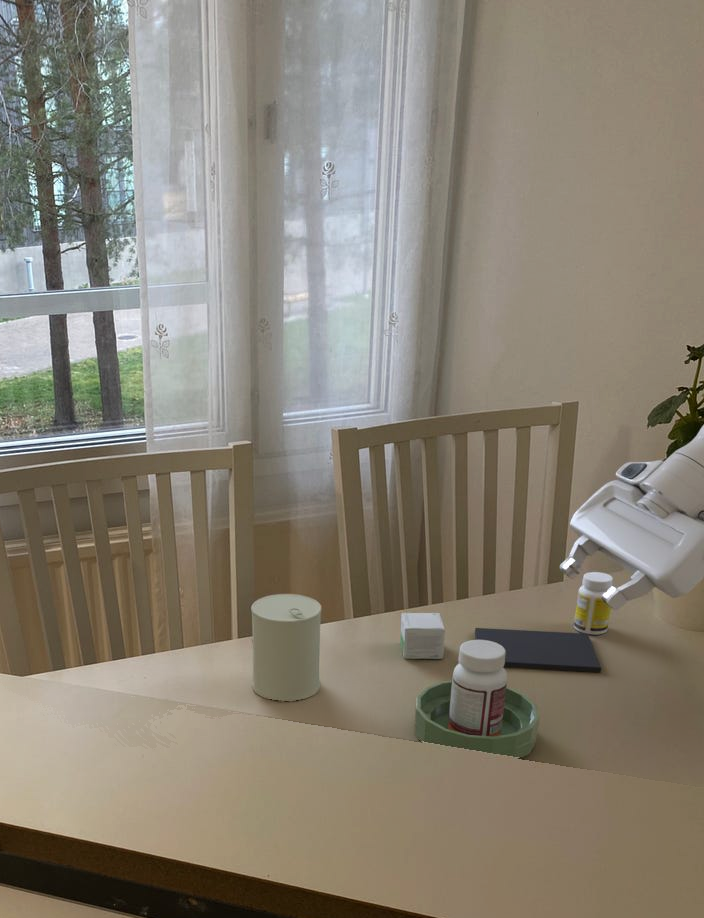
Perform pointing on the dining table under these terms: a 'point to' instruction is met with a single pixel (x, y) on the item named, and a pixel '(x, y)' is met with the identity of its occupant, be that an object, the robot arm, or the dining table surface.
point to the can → (286, 647)
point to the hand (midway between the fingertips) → (585, 588)
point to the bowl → (511, 741)
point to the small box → (422, 636)
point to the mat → (544, 649)
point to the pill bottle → (478, 689)
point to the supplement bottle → (593, 604)
